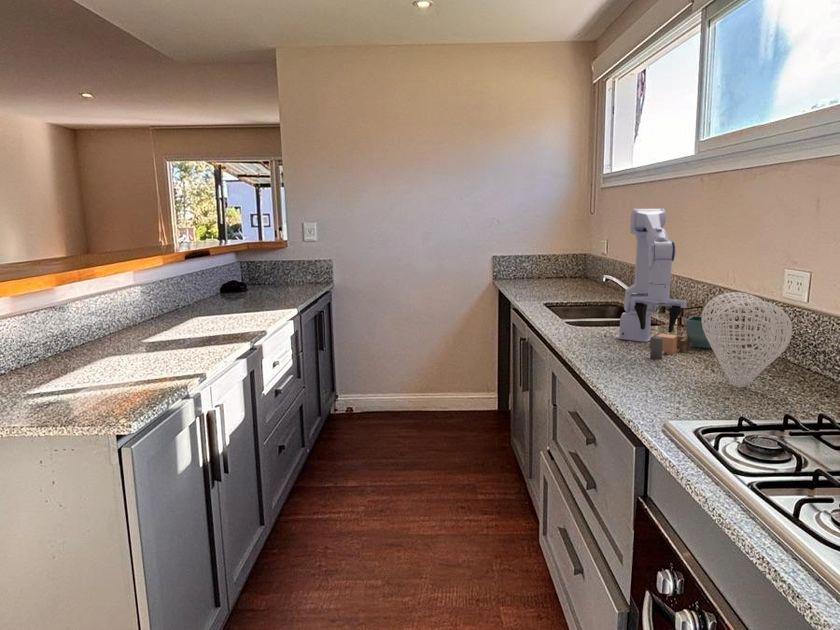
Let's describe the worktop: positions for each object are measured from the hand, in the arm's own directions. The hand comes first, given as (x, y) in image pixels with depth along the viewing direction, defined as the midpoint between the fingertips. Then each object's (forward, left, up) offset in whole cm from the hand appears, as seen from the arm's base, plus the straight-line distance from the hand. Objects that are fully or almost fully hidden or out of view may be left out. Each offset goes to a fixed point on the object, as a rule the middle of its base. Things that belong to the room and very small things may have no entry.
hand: (656, 330), depth 165 cm
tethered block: (0, +7, -8) cm, 11 cm away
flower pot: (+8, +25, -9) cm, 28 cm away
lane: (0, +17, -8) cm, 19 cm away
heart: (+24, -19, -9) cm, 32 cm away
